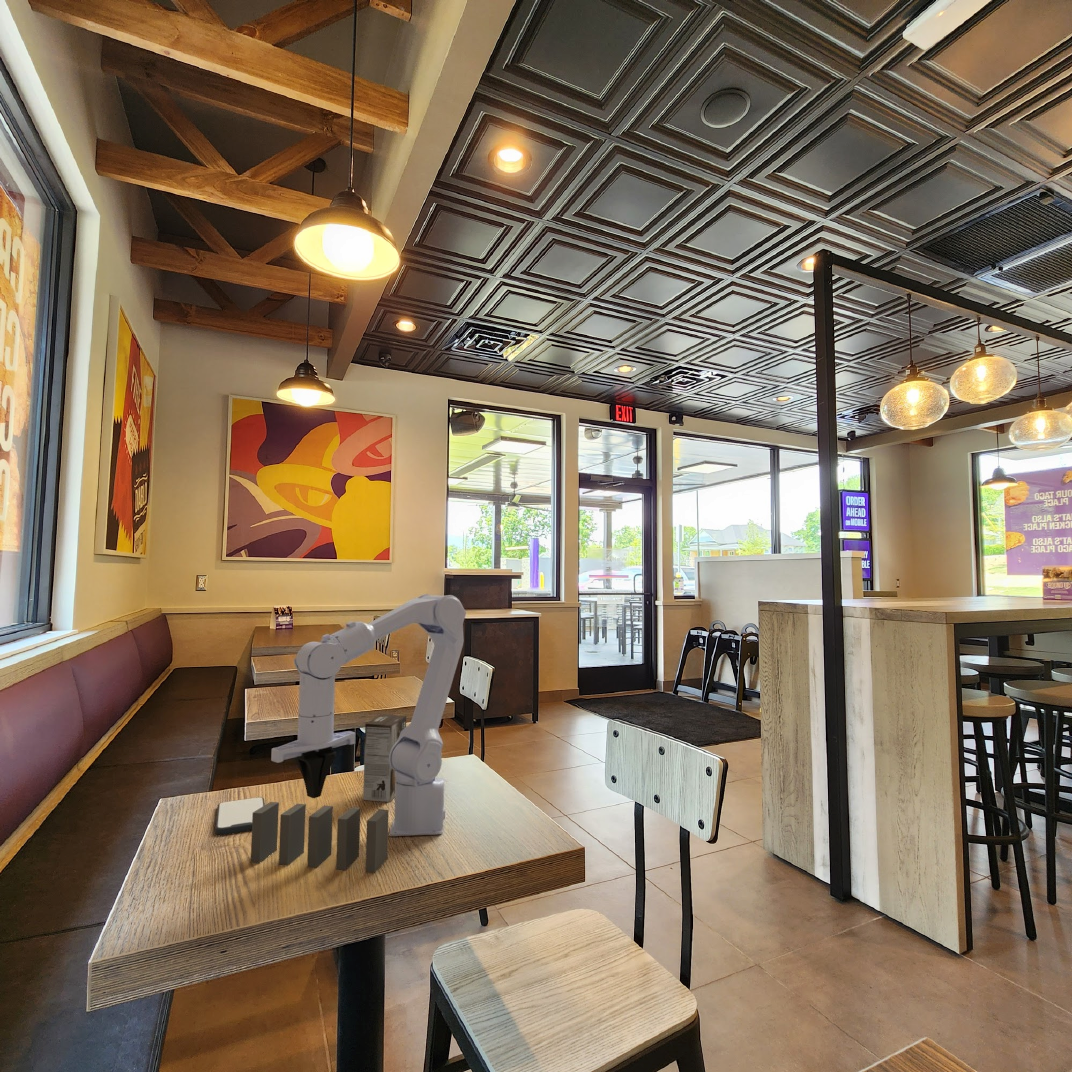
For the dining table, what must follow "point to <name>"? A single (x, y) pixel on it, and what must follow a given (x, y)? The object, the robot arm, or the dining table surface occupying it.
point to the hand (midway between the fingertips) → (313, 796)
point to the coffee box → (380, 757)
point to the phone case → (236, 815)
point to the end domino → (264, 832)
